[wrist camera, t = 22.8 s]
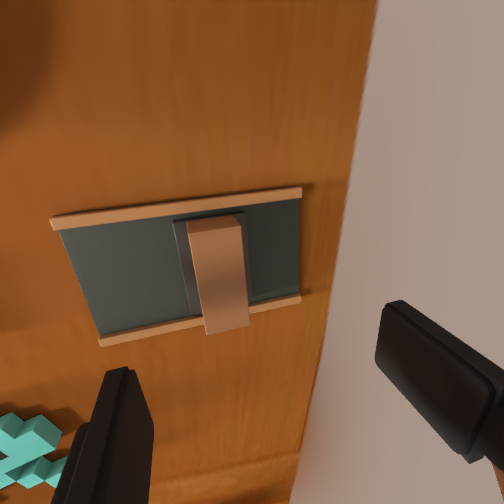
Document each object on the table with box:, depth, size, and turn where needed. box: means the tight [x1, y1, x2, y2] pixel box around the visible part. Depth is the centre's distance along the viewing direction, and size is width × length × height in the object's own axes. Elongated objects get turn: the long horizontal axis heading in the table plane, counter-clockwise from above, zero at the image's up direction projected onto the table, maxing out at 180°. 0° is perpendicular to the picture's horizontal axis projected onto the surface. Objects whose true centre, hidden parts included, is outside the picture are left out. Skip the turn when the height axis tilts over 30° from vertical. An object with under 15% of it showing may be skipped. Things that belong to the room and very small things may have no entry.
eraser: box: [172, 211, 253, 336], centre depth 29 cm, size 12×8×6 cm, turn 5°
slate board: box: [49, 186, 302, 347], centre depth 31 cm, size 16×26×1 cm, turn 95°
